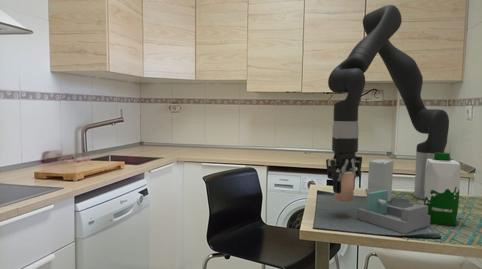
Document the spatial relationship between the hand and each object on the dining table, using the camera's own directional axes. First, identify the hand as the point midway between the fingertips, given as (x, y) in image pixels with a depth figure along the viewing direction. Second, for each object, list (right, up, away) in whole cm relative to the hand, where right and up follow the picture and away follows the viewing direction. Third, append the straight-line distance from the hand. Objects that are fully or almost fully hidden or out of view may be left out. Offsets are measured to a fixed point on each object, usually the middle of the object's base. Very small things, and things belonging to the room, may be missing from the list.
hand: (343, 191), depth 108 cm
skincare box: (+18, -7, +19) cm, 27 cm away
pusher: (+10, -7, -1) cm, 13 cm away
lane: (+13, -8, -5) cm, 16 cm away
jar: (0, -2, 0) cm, 2 cm away
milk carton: (+27, -9, -3) cm, 29 cm away
